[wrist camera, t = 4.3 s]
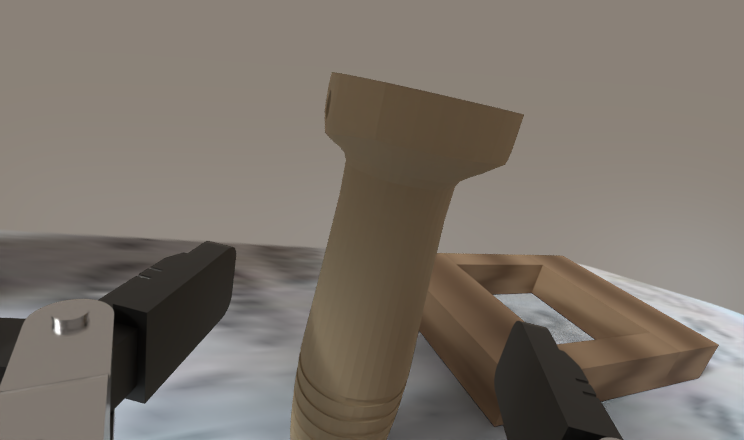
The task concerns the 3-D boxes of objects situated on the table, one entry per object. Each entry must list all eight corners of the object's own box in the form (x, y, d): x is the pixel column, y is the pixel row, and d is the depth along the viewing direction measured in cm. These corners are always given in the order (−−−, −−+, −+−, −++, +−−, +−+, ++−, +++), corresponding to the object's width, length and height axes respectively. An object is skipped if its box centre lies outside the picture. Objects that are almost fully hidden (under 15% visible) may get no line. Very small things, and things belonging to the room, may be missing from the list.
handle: (368, 410, 19) (452, 101, 14) (404, 563, 13) (568, 124, 8) (268, 411, 18) (323, 71, 13) (259, 580, 12) (352, 73, 7)
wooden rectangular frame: (494, 426, 20) (513, 380, 19) (383, 284, 32) (391, 252, 31) (698, 378, 28) (718, 344, 27) (551, 281, 40) (562, 255, 39)
